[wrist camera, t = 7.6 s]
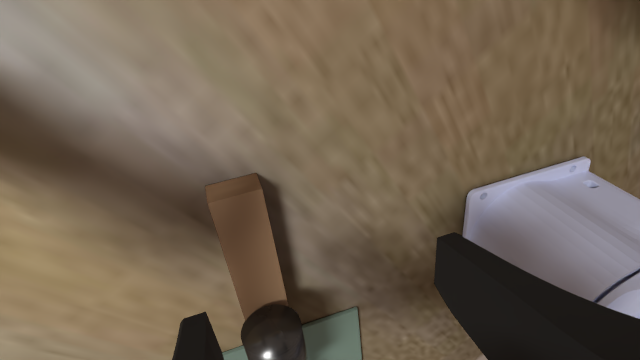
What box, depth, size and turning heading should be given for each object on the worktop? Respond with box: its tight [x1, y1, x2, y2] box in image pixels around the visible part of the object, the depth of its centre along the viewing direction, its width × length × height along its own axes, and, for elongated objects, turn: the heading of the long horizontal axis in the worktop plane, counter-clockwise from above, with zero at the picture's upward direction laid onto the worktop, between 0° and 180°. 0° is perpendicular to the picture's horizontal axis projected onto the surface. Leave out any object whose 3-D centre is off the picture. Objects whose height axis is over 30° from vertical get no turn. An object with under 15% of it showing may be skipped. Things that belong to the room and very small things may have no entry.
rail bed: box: [205, 173, 289, 321], centre depth 22 cm, size 3×10×2 cm, turn 6°
